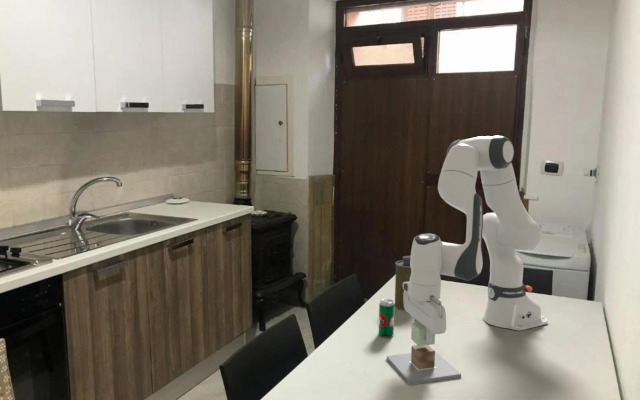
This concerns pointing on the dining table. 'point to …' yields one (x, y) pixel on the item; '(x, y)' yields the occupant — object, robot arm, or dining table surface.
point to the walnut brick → (423, 356)
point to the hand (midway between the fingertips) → (423, 336)
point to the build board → (416, 375)
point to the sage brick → (420, 334)
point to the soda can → (386, 318)
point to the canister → (401, 280)
